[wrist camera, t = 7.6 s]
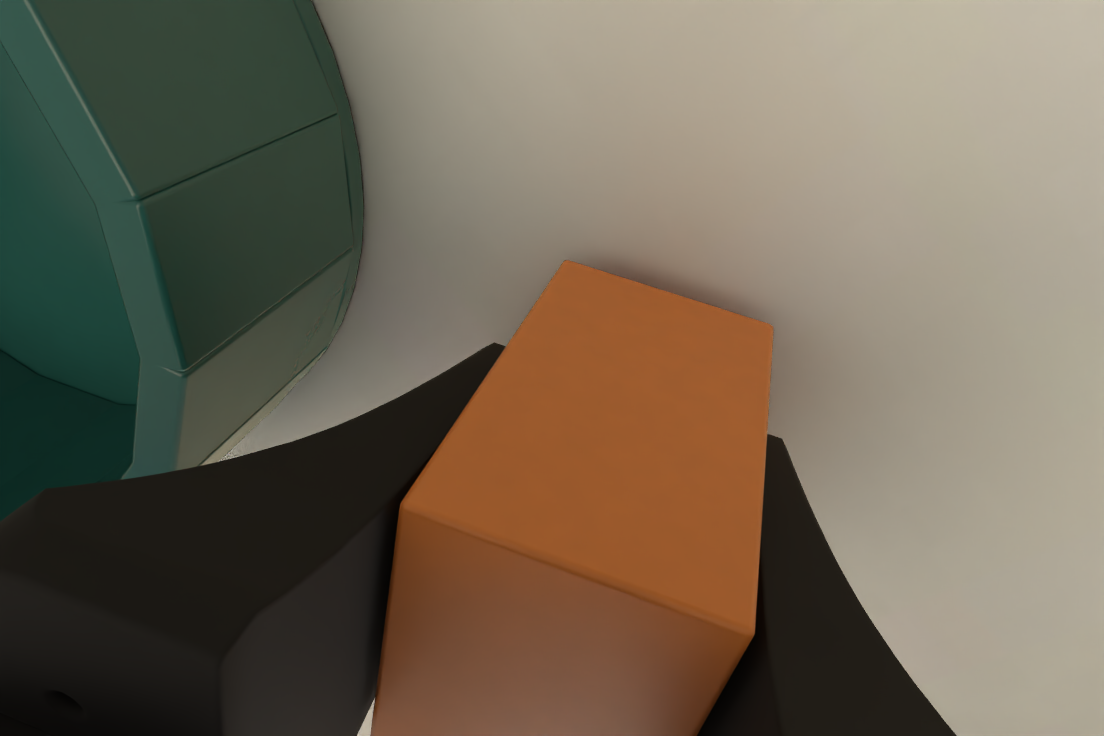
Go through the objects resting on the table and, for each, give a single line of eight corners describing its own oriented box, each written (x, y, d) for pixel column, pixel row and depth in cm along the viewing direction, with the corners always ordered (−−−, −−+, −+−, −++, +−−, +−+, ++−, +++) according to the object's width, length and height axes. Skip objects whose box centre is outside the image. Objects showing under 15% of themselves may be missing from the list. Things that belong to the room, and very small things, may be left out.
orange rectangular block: (691, 517, 14) (631, 854, 9) (516, 455, 14) (366, 746, 9) (775, 323, 11) (758, 635, 7) (564, 257, 12) (396, 503, 7)
